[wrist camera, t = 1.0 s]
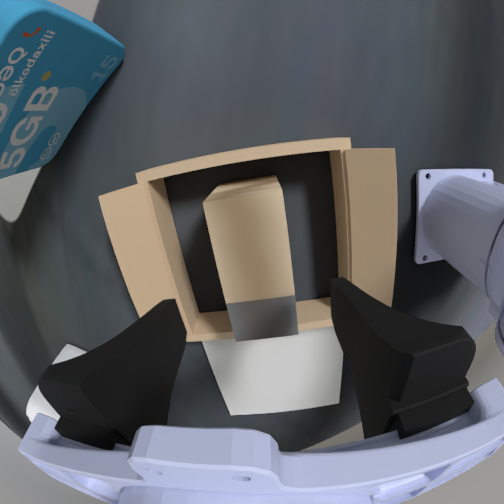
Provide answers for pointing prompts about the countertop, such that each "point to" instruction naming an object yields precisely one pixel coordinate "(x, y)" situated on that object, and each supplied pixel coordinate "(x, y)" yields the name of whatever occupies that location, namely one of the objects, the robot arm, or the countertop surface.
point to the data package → (46, 78)
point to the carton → (341, 157)
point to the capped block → (253, 257)
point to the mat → (278, 371)
